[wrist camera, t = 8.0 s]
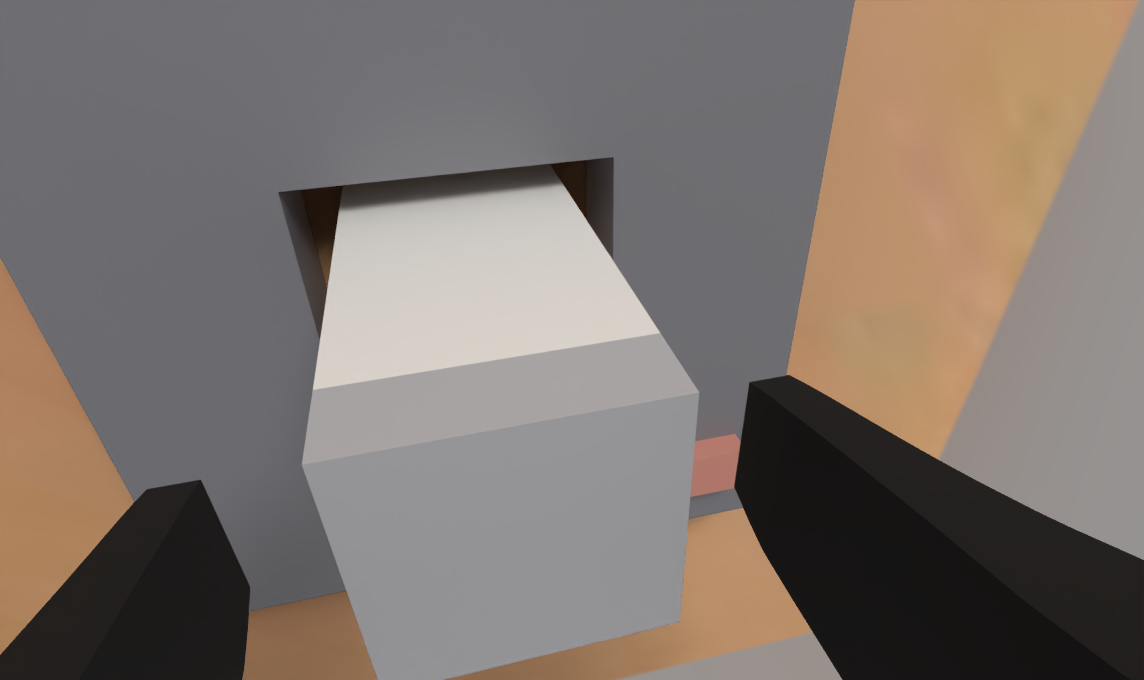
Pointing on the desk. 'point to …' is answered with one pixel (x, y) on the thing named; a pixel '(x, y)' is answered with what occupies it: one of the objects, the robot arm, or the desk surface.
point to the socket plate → (381, 153)
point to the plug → (494, 428)
